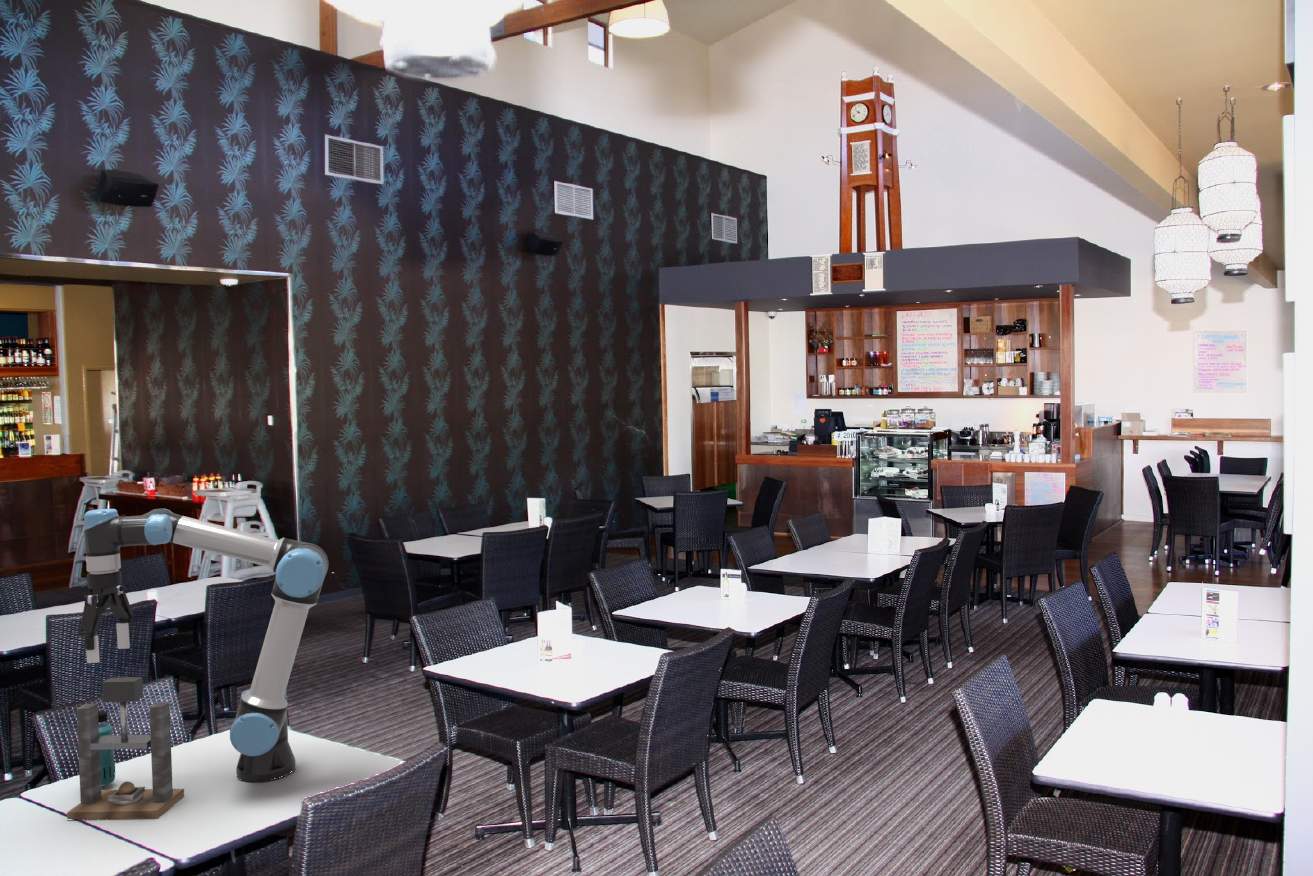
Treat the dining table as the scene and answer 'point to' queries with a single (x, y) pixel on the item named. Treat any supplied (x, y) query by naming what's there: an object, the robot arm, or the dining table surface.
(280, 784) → the dining table surface
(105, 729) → the beverage bottle
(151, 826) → the dining table surface
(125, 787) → the walnut
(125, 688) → the crusher
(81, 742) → the press frame
